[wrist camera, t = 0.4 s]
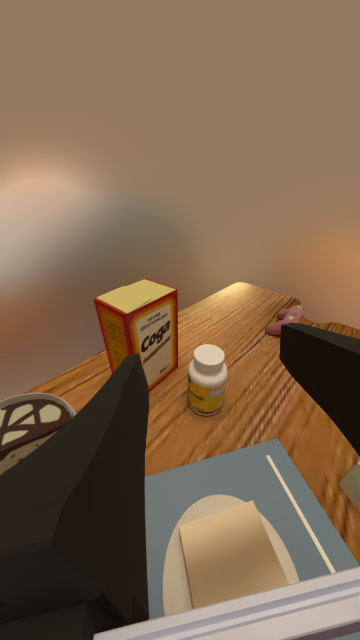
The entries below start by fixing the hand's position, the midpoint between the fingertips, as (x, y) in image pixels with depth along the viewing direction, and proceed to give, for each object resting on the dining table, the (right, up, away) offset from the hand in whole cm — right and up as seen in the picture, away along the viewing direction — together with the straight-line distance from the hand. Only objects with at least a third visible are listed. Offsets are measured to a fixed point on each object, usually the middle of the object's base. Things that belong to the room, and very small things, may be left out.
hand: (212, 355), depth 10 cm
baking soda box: (-8, -8, +27) cm, 29 cm away
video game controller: (+23, 0, +39) cm, 45 cm away
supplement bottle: (+2, -11, +22) cm, 25 cm away
